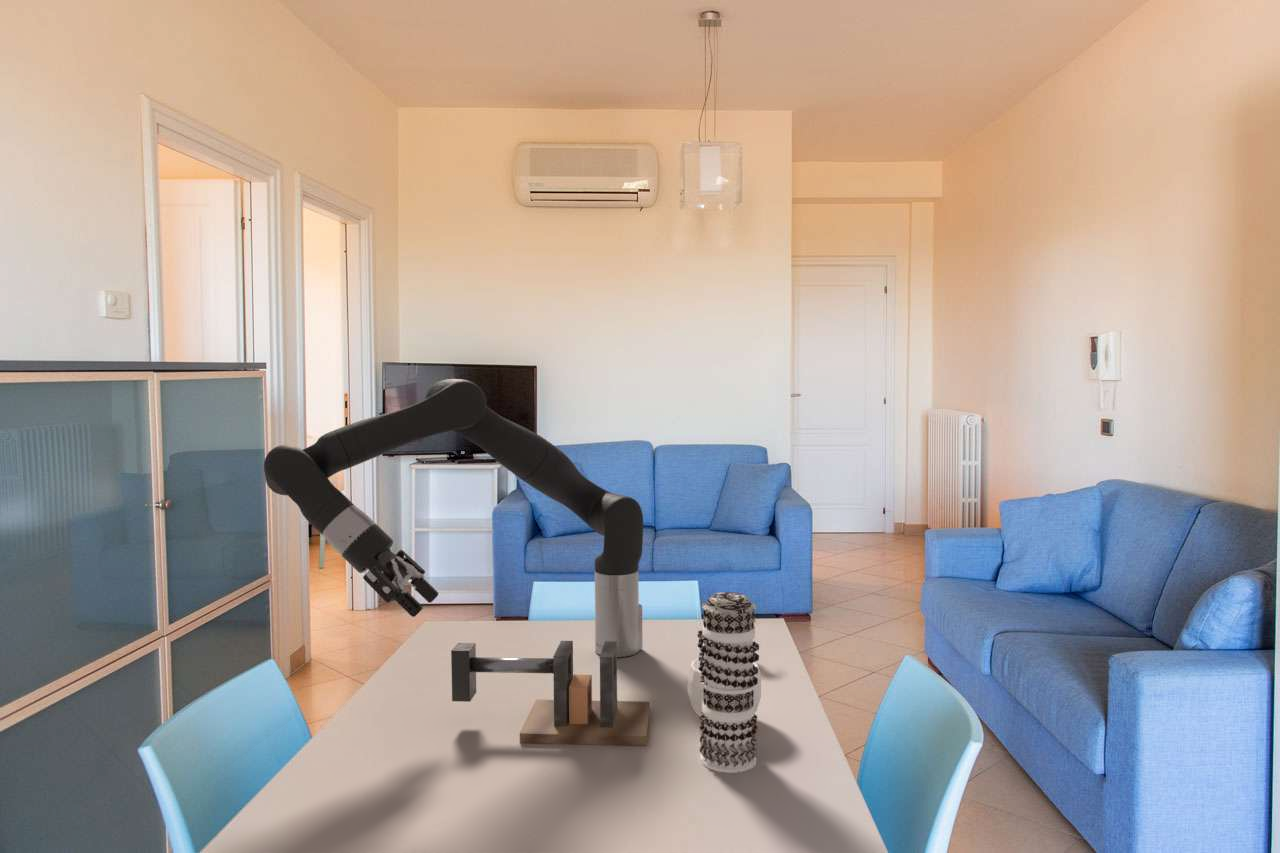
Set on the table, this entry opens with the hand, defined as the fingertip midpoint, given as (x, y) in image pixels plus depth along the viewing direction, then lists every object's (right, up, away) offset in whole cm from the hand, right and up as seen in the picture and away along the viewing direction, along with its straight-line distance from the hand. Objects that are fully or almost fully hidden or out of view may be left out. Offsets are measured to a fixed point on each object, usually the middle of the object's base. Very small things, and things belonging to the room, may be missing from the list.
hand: (427, 605), depth 140 cm
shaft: (+14, -15, -1) cm, 20 cm away
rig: (+27, -20, -2) cm, 34 cm away
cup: (+50, -20, -1) cm, 54 cm away
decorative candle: (+49, -20, -15) cm, 55 cm away
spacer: (+26, -18, -2) cm, 32 cm away
